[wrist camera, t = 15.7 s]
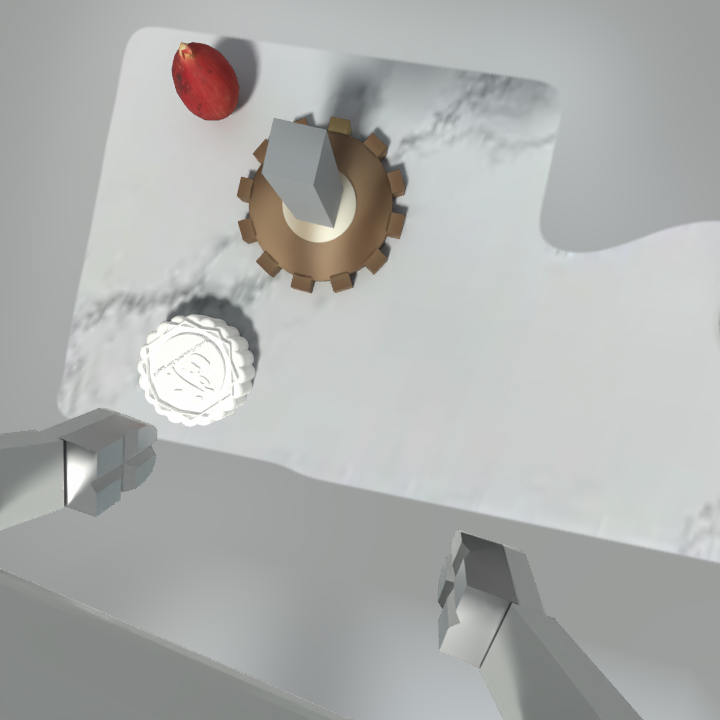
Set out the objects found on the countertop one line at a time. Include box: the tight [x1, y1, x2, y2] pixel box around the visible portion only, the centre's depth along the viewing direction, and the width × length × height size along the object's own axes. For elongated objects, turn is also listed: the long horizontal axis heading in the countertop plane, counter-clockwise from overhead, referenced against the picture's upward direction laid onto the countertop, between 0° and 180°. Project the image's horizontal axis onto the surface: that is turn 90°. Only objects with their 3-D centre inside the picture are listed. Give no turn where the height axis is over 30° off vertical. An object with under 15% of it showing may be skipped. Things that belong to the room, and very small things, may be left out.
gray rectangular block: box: [262, 118, 343, 228], centre depth 30 cm, size 4×4×10 cm
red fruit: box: [172, 42, 239, 120], centre depth 33 cm, size 6×6×8 cm
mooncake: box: [138, 314, 255, 426], centre depth 38 cm, size 12×12×4 cm
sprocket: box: [237, 116, 405, 293], centre depth 36 cm, size 18×18×2 cm
